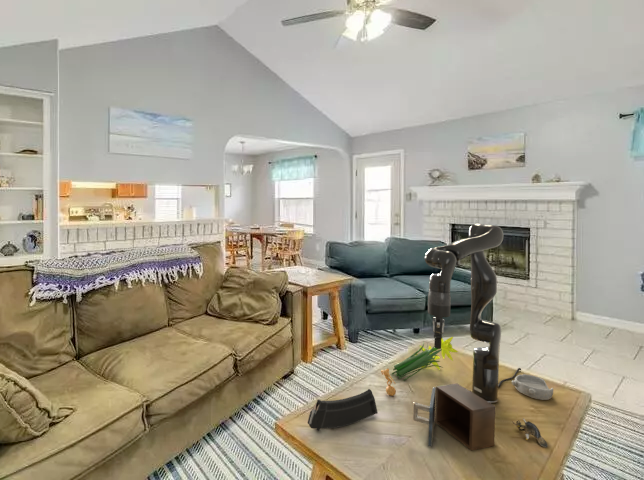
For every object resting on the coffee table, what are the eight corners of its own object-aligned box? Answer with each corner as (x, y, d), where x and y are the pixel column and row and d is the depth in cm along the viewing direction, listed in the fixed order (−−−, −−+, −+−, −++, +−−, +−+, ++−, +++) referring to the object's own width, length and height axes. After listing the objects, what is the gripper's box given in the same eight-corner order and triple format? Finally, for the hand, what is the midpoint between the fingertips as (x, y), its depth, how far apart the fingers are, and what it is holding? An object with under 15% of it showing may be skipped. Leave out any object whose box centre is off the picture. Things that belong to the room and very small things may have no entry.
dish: (535, 384, 172) (535, 373, 172) (562, 401, 159) (563, 389, 158) (504, 384, 172) (505, 373, 172) (529, 401, 158) (530, 389, 158)
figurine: (401, 399, 158) (402, 371, 158) (389, 401, 156) (390, 373, 156) (388, 389, 166) (388, 363, 166) (376, 391, 164) (377, 364, 164)
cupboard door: (411, 440, 132) (412, 402, 132) (416, 417, 146) (417, 382, 145) (431, 446, 129) (432, 407, 128) (434, 422, 142) (435, 387, 142)
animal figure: (510, 432, 135) (539, 443, 127) (512, 412, 138) (541, 421, 130) (521, 440, 138) (550, 450, 130) (523, 419, 140) (552, 429, 133)
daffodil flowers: (380, 369, 187) (432, 342, 198) (402, 396, 176) (455, 366, 187) (388, 350, 177) (442, 323, 188) (412, 378, 166) (467, 347, 177)
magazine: (377, 388, 149) (317, 380, 138) (383, 392, 146) (323, 384, 135) (366, 431, 148) (305, 427, 137) (372, 436, 145) (310, 432, 134)
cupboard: (471, 450, 127) (472, 410, 127) (434, 422, 143) (435, 386, 142) (494, 445, 130) (495, 406, 130) (455, 418, 146) (457, 383, 145)
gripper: (450, 308, 134) (449, 353, 135) (450, 299, 147) (449, 339, 147) (427, 305, 138) (426, 348, 138) (428, 296, 150) (427, 335, 151)
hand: (437, 344), depth 143 cm, fingers open, 8 cm apart
